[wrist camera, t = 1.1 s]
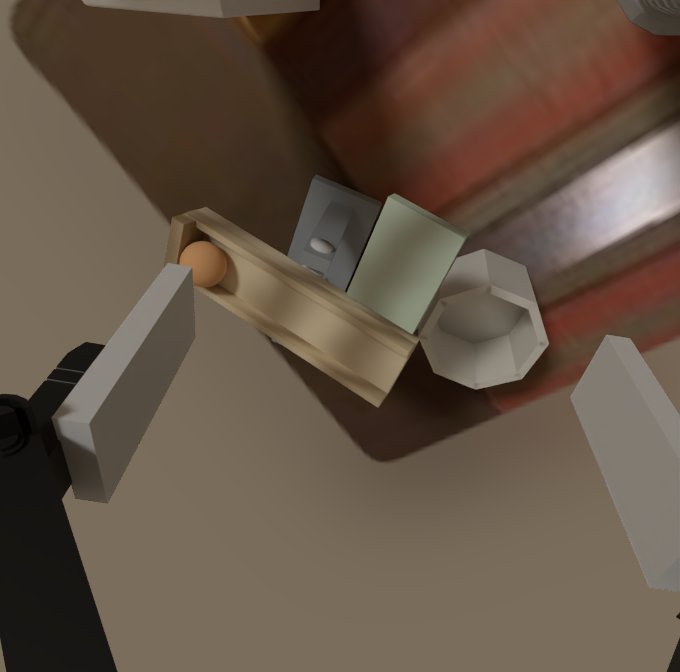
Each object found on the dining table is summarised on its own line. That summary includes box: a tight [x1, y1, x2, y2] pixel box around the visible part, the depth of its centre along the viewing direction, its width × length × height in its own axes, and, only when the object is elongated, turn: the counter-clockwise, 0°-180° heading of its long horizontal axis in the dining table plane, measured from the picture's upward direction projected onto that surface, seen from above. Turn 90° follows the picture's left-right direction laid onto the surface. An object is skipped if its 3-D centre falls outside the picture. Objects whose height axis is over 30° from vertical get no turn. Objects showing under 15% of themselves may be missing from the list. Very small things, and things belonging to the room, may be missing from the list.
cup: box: [418, 249, 549, 390], centre depth 43 cm, size 9×9×6 cm
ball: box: [179, 241, 227, 287], centre depth 35 cm, size 3×3×3 cm
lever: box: [164, 193, 470, 407], centre depth 32 cm, size 18×12×3 cm
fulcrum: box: [272, 175, 382, 344], centre depth 40 cm, size 6×10×12 cm, turn 160°
